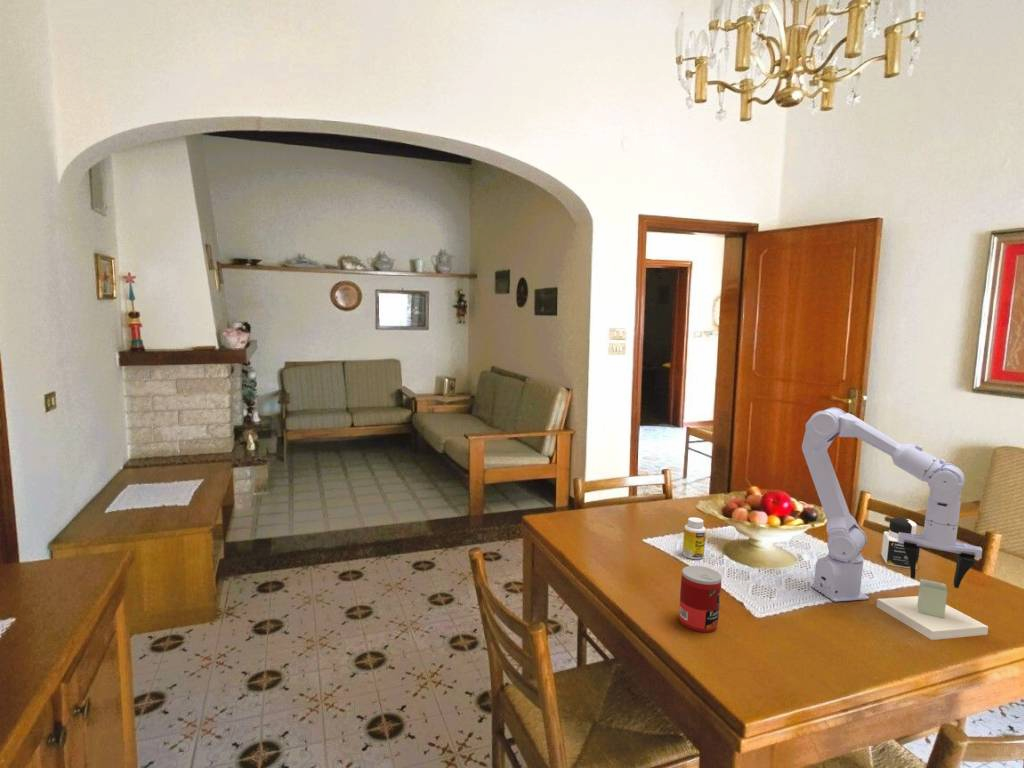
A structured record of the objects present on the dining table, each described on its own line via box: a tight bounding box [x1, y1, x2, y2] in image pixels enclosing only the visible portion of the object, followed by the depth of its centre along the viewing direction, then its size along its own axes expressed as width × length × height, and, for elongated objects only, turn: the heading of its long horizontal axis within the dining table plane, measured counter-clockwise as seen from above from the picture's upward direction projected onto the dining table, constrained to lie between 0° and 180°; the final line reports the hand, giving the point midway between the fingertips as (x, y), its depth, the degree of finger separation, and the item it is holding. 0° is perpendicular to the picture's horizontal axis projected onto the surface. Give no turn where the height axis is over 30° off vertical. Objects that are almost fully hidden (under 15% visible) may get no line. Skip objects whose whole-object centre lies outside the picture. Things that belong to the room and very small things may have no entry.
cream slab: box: [876, 595, 989, 641], centre depth 128 cm, size 14×14×2 cm
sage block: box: [917, 578, 948, 618], centre depth 128 cm, size 4×4×6 cm
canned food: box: [678, 565, 722, 633], centre depth 123 cm, size 8×8×11 cm
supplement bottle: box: [682, 517, 707, 560], centre depth 159 cm, size 6×6×10 cm
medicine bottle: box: [881, 517, 921, 570], centre depth 159 cm, size 7×7×12 cm
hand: (933, 581), depth 127 cm, fingers open, 7 cm apart
